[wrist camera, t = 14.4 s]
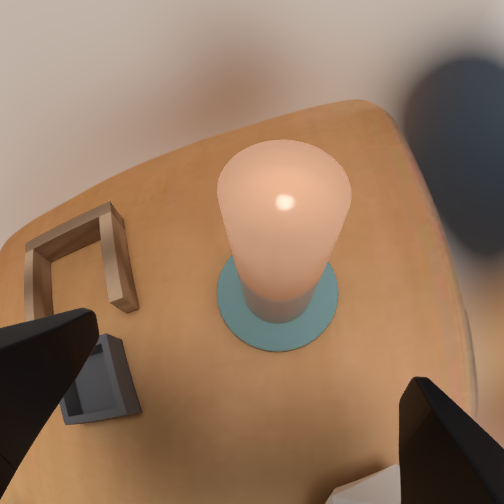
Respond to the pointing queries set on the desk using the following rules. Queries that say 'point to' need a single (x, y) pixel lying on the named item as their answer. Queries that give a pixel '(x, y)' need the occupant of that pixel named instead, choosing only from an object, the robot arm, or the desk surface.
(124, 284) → the channel
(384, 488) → the die
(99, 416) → the tray
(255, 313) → the canister
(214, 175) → the desk surface
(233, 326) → the pad
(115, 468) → the desk surface
